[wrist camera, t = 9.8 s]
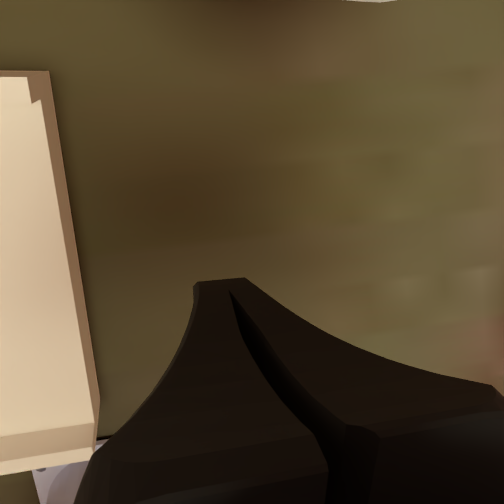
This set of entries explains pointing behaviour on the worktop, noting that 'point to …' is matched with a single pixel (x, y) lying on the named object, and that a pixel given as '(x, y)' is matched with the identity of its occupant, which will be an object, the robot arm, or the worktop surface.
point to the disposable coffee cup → (372, 0)
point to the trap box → (40, 291)
